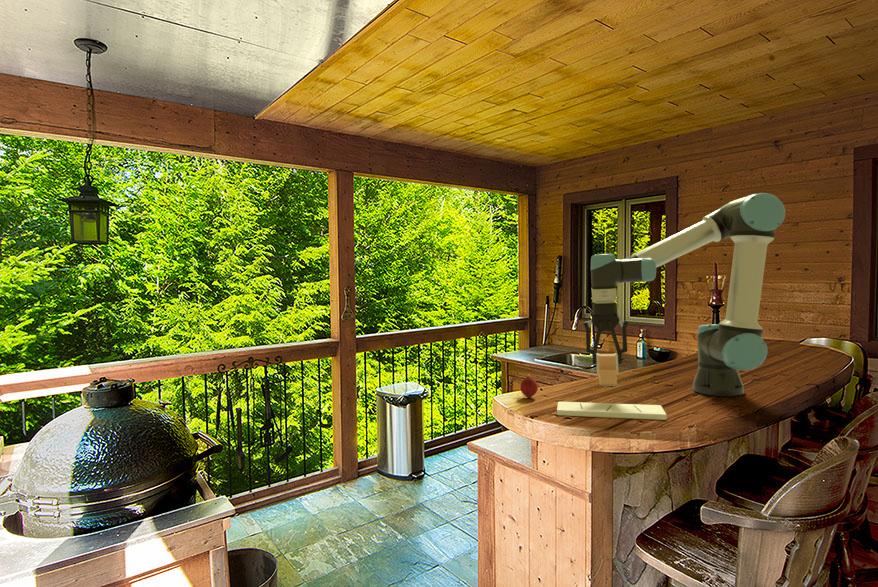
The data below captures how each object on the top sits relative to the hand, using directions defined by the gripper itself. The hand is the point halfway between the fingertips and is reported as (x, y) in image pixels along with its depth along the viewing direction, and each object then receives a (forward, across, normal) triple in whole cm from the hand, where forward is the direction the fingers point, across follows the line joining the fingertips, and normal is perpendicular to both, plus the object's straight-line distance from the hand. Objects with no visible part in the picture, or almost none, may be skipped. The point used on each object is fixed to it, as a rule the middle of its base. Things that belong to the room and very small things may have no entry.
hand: (607, 373), depth 157 cm
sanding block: (+3, 0, 0) cm, 3 cm away
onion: (+9, -26, +2) cm, 27 cm away
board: (+9, -1, -12) cm, 15 cm away
